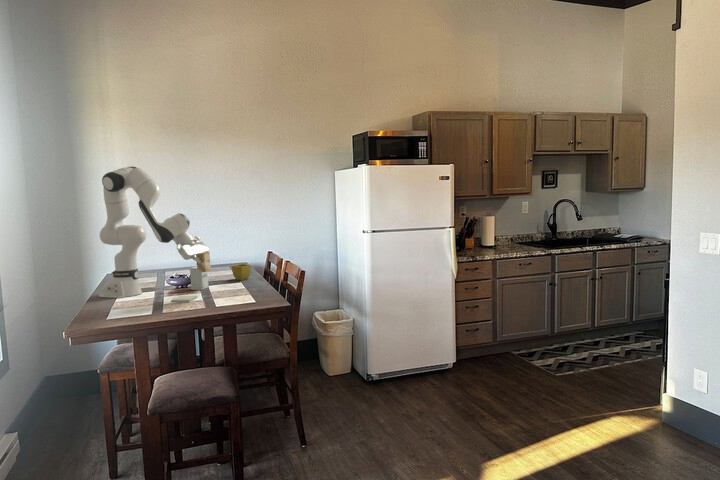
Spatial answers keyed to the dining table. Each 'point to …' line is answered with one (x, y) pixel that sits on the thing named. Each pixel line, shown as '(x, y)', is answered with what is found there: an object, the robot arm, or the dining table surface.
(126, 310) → the dining table surface
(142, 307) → the dining table surface
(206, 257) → the beech block
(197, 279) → the supplement box
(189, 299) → the tile
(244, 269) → the flower pot
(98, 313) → the dining table surface
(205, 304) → the dining table surface
